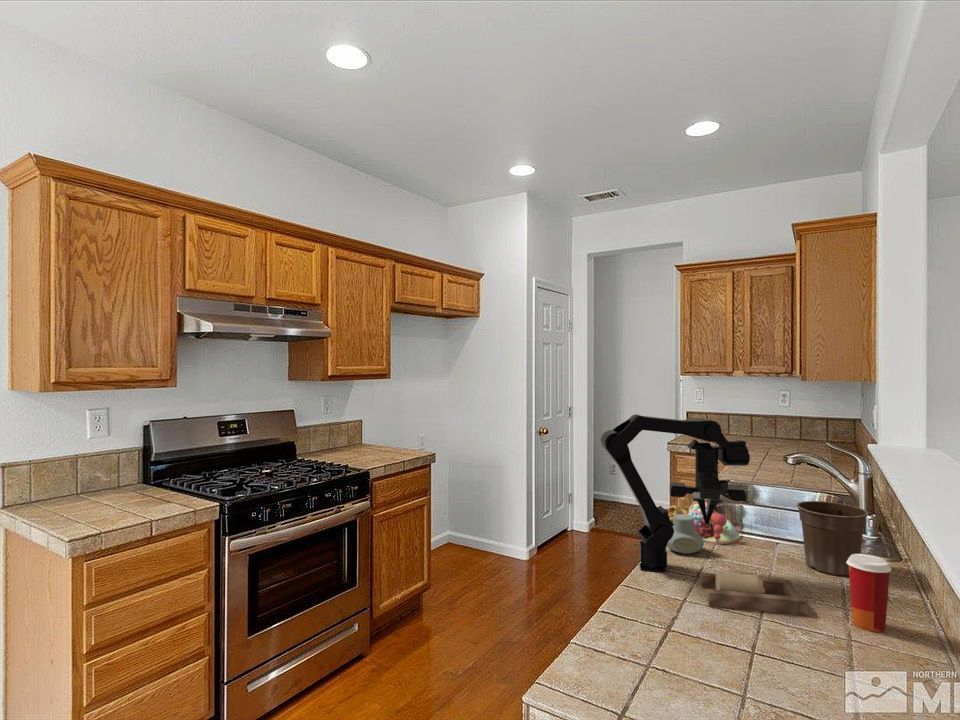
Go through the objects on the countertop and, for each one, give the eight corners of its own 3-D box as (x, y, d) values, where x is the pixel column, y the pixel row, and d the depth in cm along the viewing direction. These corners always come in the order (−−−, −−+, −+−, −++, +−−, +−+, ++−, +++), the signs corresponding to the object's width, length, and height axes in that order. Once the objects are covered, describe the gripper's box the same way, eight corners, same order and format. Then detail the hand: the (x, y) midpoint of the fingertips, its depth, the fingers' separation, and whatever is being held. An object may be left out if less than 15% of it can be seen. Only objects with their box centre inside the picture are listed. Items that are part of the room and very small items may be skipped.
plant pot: (792, 553, 157) (792, 497, 157) (858, 561, 151) (858, 503, 151) (802, 574, 142) (802, 512, 142) (876, 583, 136) (876, 519, 136)
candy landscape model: (650, 533, 177) (650, 504, 177) (672, 516, 195) (672, 490, 195) (733, 549, 162) (733, 518, 162) (748, 529, 181) (748, 501, 180)
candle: (719, 601, 126) (766, 605, 124) (719, 578, 126) (766, 582, 124) (715, 590, 132) (760, 594, 129) (715, 567, 131) (760, 571, 129)
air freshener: (701, 547, 162) (701, 513, 162) (705, 557, 154) (705, 522, 154) (662, 544, 165) (662, 511, 165) (665, 554, 157) (665, 519, 157)
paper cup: (883, 620, 117) (883, 555, 117) (897, 637, 110) (897, 568, 110) (841, 614, 119) (841, 551, 119) (852, 631, 112) (852, 563, 112)
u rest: (709, 605, 124) (709, 592, 124) (700, 584, 135) (700, 572, 135) (806, 615, 119) (806, 601, 119) (789, 592, 131) (789, 580, 131)
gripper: (672, 469, 141) (671, 529, 141) (750, 473, 136) (750, 535, 136) (669, 461, 152) (669, 517, 152) (742, 465, 147) (742, 523, 147)
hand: (706, 523), depth 146 cm, fingers closed
